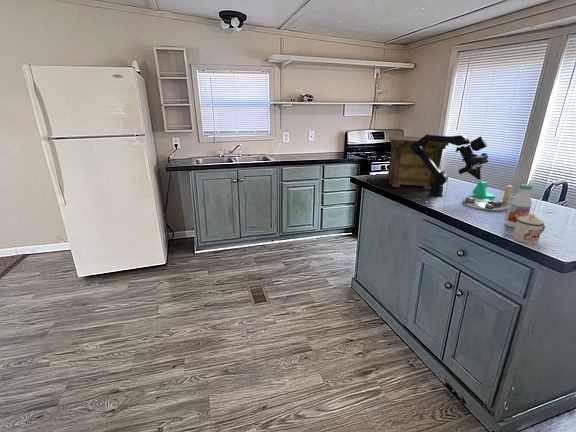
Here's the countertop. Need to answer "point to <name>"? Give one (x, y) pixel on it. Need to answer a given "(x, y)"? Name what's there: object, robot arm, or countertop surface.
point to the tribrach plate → (482, 204)
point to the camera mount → (482, 191)
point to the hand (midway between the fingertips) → (479, 179)
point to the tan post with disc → (505, 197)
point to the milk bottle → (519, 205)
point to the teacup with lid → (528, 229)
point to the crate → (412, 162)
